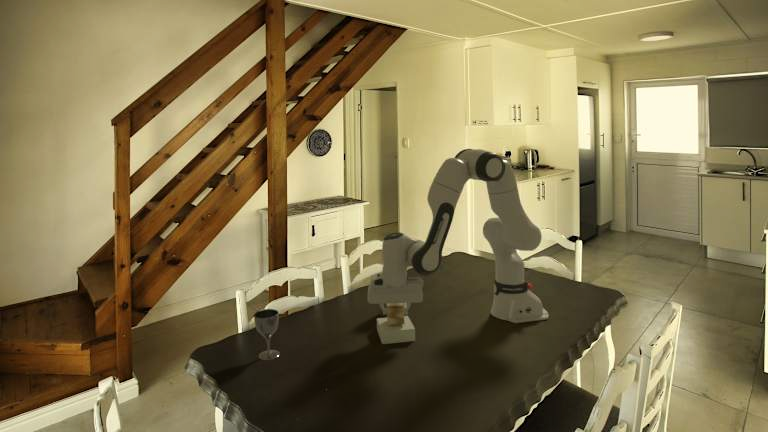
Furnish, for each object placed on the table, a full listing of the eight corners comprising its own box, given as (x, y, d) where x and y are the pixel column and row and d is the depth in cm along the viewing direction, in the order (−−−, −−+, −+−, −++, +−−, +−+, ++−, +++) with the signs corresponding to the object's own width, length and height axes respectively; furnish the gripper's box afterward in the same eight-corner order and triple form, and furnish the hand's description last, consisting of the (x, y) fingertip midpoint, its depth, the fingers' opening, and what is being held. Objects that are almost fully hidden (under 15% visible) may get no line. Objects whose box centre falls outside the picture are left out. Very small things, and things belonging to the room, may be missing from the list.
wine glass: (269, 347, 164) (267, 307, 162) (285, 353, 160) (283, 312, 157) (252, 356, 158) (248, 315, 155) (268, 363, 153) (265, 320, 151)
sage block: (407, 328, 179) (407, 315, 178) (415, 341, 167) (415, 328, 166) (376, 330, 177) (376, 318, 176) (382, 344, 165) (381, 331, 164)
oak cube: (403, 317, 174) (402, 302, 173) (404, 324, 168) (404, 308, 167) (387, 318, 174) (386, 302, 173) (387, 324, 168) (387, 309, 167)
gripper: (422, 274, 171) (422, 309, 174) (366, 275, 171) (367, 311, 173) (424, 279, 165) (424, 316, 168) (366, 281, 165) (368, 318, 167)
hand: (395, 313), depth 171 cm, fingers open, 6 cm apart
